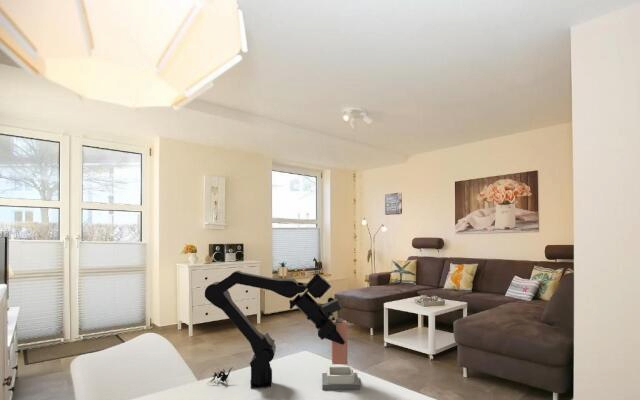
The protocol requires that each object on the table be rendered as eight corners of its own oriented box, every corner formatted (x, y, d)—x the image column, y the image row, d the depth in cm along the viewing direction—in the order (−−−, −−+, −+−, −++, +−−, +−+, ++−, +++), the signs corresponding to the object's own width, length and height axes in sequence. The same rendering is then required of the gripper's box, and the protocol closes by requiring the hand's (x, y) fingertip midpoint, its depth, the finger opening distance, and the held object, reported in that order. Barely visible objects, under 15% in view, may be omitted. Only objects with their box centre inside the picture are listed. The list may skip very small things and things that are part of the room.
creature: (203, 386, 129) (217, 387, 124) (201, 369, 130) (215, 369, 125) (222, 379, 135) (236, 379, 130) (220, 363, 136) (234, 362, 131)
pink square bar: (332, 364, 126) (332, 320, 127) (331, 359, 131) (331, 317, 132) (347, 364, 126) (347, 320, 127) (346, 359, 131) (346, 317, 132)
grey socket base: (322, 389, 122) (322, 376, 122) (322, 377, 132) (322, 365, 132) (359, 389, 122) (359, 376, 122) (356, 377, 132) (356, 365, 132)
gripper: (328, 295, 121) (363, 331, 120) (326, 286, 139) (357, 317, 139) (303, 321, 120) (338, 357, 119) (304, 309, 138) (335, 339, 138)
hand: (343, 341), depth 129 cm, fingers closed on pink square bar, 5 cm apart
